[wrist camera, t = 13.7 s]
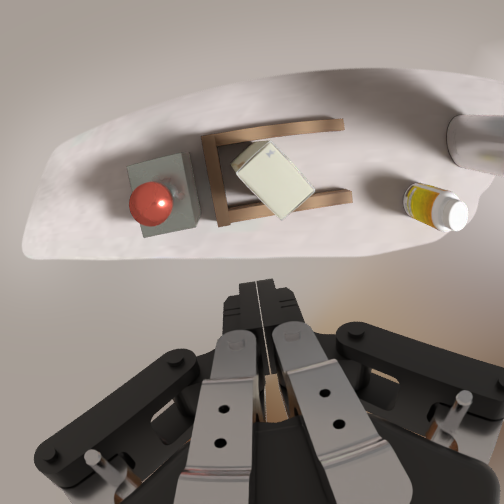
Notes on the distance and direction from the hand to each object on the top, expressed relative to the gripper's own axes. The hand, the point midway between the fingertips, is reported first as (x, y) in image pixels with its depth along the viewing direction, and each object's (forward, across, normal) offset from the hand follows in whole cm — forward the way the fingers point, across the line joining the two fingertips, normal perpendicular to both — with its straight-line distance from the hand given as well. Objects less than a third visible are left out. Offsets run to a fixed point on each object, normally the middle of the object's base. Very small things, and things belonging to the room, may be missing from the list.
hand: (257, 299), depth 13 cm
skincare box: (+26, -3, -3) cm, 26 cm away
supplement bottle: (+27, -26, +4) cm, 38 cm away
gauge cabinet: (+26, +8, -3) cm, 27 cm away
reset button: (+18, +8, -3) cm, 20 cm away
